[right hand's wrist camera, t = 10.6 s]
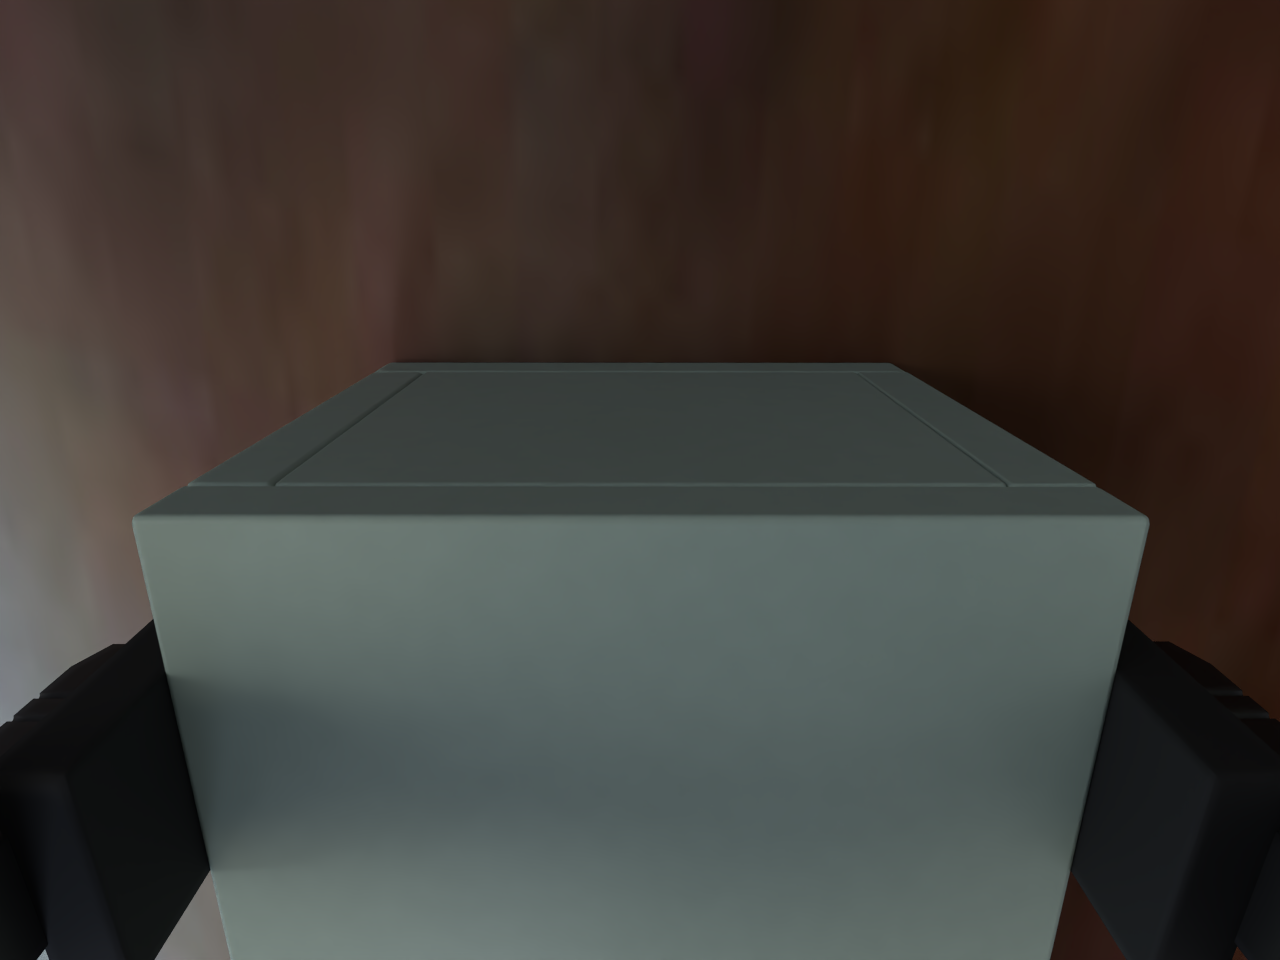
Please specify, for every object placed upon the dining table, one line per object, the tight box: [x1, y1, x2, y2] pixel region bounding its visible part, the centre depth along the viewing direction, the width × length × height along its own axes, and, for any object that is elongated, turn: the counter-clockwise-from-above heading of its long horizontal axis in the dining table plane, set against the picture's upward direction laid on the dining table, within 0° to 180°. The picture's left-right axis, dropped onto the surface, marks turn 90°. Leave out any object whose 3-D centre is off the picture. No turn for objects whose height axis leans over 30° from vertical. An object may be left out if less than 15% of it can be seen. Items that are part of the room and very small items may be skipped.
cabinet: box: [132, 363, 1149, 960], centre depth 15 cm, size 21×10×8 cm, turn 0°
